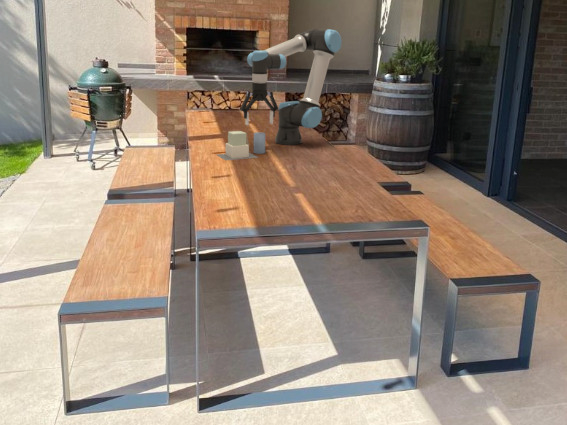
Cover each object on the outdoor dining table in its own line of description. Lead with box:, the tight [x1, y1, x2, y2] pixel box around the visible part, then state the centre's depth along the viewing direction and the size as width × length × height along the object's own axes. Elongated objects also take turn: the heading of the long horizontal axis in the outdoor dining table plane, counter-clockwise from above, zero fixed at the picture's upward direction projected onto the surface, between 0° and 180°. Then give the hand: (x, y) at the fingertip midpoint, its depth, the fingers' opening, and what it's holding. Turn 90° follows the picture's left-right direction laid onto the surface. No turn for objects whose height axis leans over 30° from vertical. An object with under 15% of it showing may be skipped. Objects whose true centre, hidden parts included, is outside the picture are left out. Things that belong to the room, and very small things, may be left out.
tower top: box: [227, 130, 246, 146], centre depth 323 cm, size 7×7×6 cm
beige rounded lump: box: [243, 131, 250, 146], centre depth 345 cm, size 10×10×10 cm
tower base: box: [225, 142, 250, 159], centre depth 325 cm, size 9×9×6 cm
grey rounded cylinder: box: [253, 131, 266, 155], centre depth 333 cm, size 6×6×11 cm
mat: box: [216, 152, 260, 161], centre depth 326 cm, size 18×14×1 cm
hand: (259, 124), depth 330 cm, fingers open, 13 cm apart
